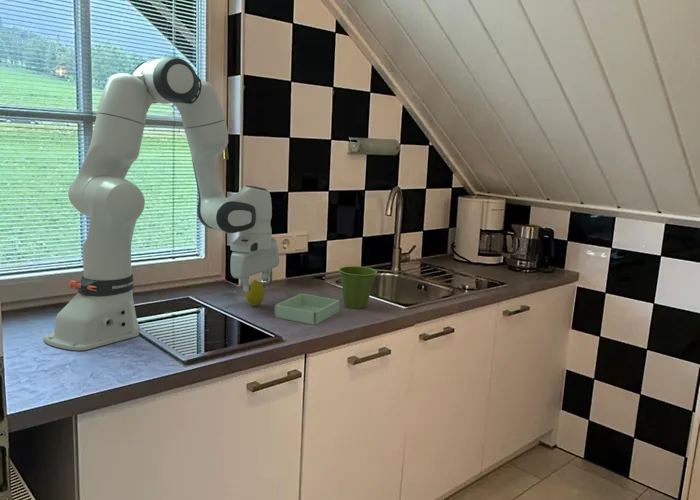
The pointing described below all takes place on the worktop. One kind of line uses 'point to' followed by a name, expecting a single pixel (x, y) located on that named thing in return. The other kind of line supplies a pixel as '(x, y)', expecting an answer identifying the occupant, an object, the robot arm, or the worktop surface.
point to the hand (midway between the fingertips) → (256, 287)
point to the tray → (307, 308)
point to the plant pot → (357, 285)
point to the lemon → (255, 293)
